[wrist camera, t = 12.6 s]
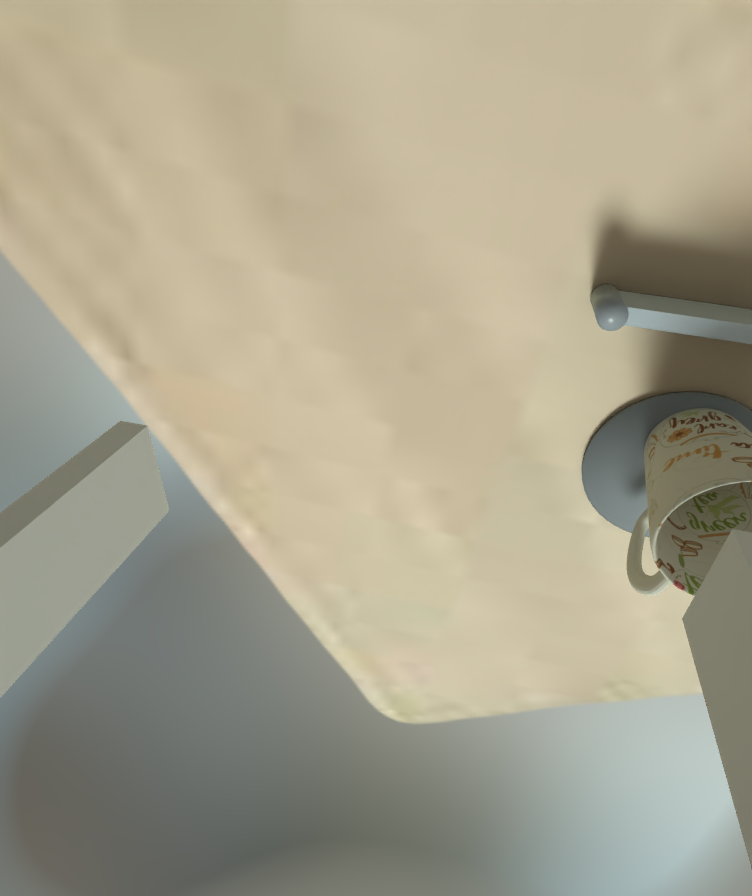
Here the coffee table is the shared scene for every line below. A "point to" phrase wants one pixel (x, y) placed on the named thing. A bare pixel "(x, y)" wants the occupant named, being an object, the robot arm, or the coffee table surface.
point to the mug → (691, 497)
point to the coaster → (637, 452)
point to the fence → (670, 315)
